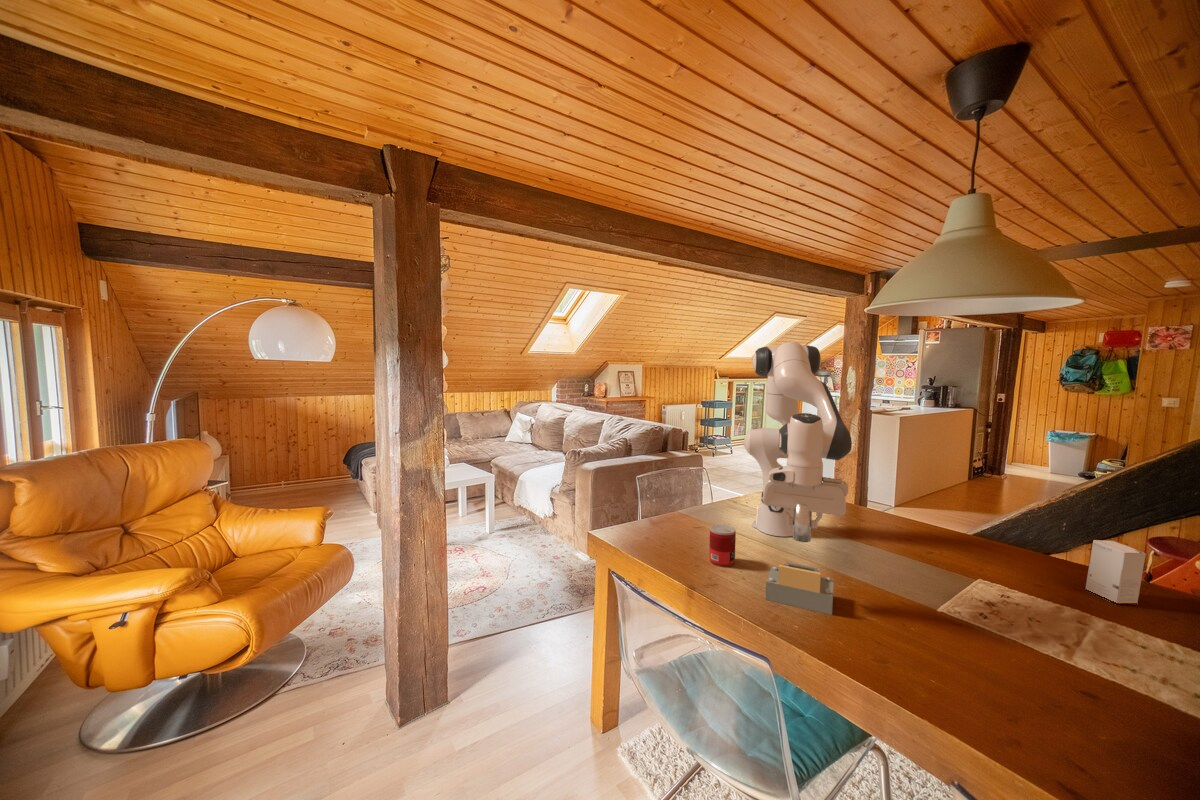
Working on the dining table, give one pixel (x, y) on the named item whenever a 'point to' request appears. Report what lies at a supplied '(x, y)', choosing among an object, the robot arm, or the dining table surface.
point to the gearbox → (800, 587)
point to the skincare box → (1115, 571)
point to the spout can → (802, 523)
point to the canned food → (722, 545)
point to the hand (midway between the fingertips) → (802, 525)
